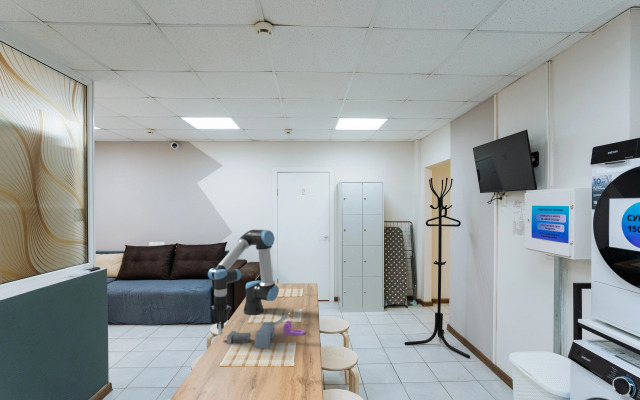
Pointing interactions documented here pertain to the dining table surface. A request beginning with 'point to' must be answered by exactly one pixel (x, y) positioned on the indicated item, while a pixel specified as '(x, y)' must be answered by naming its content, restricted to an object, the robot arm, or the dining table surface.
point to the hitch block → (265, 335)
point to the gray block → (238, 337)
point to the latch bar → (281, 320)
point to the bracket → (292, 330)
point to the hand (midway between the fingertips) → (220, 334)
